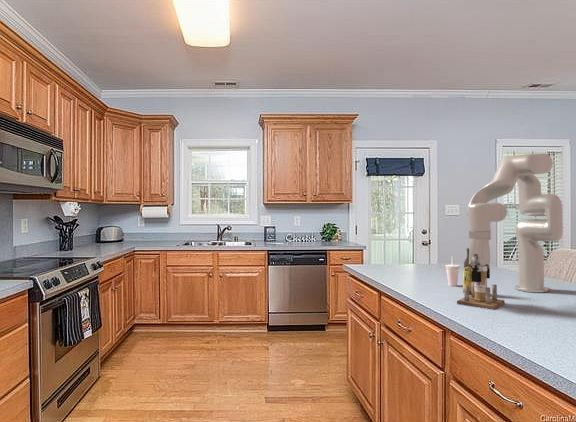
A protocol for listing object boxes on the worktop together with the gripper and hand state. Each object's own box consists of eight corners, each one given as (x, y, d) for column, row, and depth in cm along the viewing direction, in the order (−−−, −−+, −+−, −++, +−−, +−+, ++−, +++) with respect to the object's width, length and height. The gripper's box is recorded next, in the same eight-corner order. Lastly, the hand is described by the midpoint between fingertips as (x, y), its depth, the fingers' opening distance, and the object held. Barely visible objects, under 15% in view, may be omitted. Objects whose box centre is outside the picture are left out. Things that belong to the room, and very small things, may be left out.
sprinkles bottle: (473, 300, 147) (472, 265, 147) (476, 298, 150) (475, 264, 150) (486, 302, 144) (485, 266, 144) (489, 300, 147) (488, 265, 147)
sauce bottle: (462, 294, 163) (461, 248, 163) (463, 291, 169) (462, 246, 169) (479, 295, 160) (478, 248, 160) (479, 293, 166) (479, 247, 166)
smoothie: (459, 284, 185) (458, 255, 185) (460, 287, 179) (460, 257, 179) (445, 284, 187) (444, 255, 187) (446, 286, 181) (445, 257, 181)
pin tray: (469, 298, 156) (469, 280, 156) (504, 303, 147) (504, 284, 147) (456, 304, 147) (456, 285, 147) (493, 309, 137) (493, 289, 138)
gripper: (477, 233, 156) (478, 275, 156) (461, 237, 143) (462, 282, 143) (497, 234, 150) (498, 277, 150) (482, 237, 138) (483, 284, 138)
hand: (481, 279), depth 147 cm, fingers open, 9 cm apart
